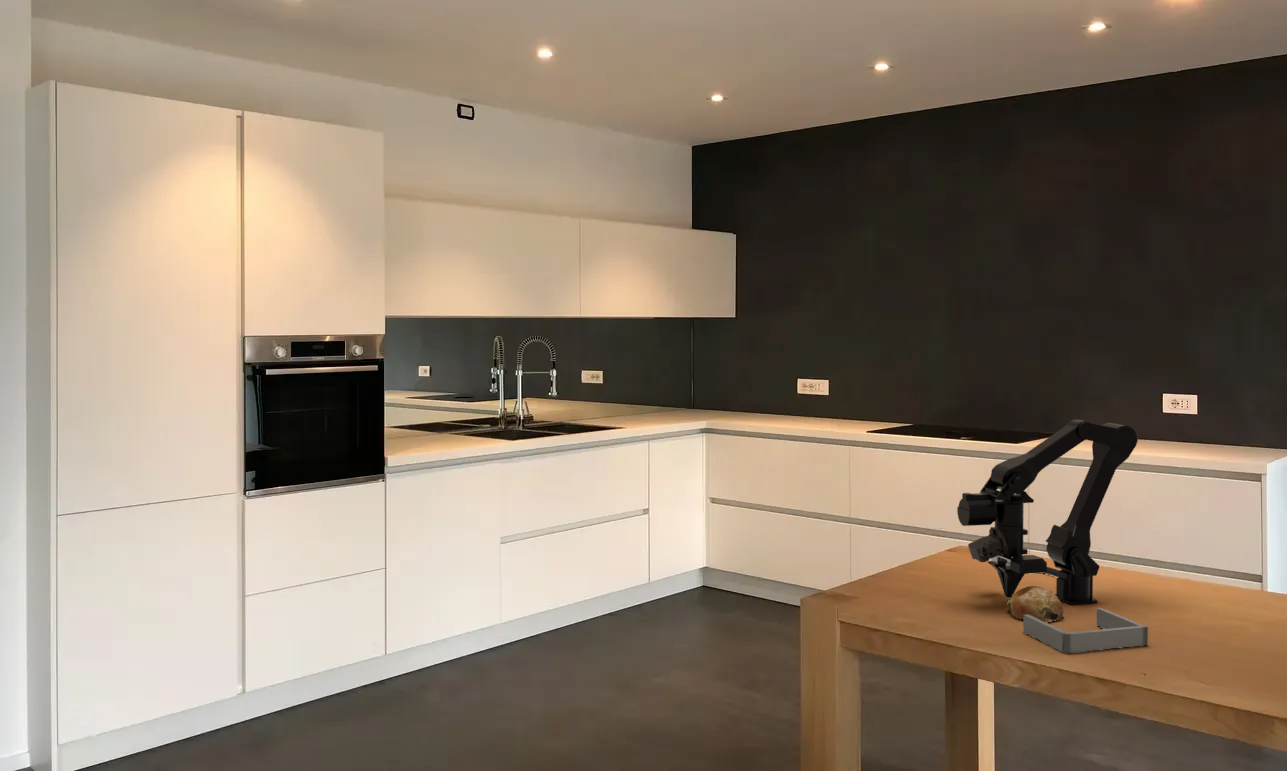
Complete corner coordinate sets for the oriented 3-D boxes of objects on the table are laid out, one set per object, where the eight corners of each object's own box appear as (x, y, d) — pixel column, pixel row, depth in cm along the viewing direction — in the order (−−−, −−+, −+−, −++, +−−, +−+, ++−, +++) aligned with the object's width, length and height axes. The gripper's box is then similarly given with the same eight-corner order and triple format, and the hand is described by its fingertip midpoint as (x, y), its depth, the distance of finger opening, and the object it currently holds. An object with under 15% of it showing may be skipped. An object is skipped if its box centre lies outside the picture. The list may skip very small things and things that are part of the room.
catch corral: (1100, 625, 200) (1101, 607, 200) (1147, 645, 187) (1147, 627, 187) (1023, 632, 196) (1023, 614, 196) (1065, 653, 183) (1065, 634, 183)
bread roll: (1029, 642, 202) (1043, 610, 198) (993, 609, 210) (1006, 577, 206) (1064, 634, 207) (1078, 603, 203) (1027, 602, 214) (1041, 571, 211)
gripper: (951, 517, 222) (951, 588, 223) (999, 535, 204) (998, 611, 205) (997, 515, 225) (997, 584, 226) (1048, 531, 206) (1048, 607, 207)
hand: (1008, 596), depth 216 cm, fingers closed
